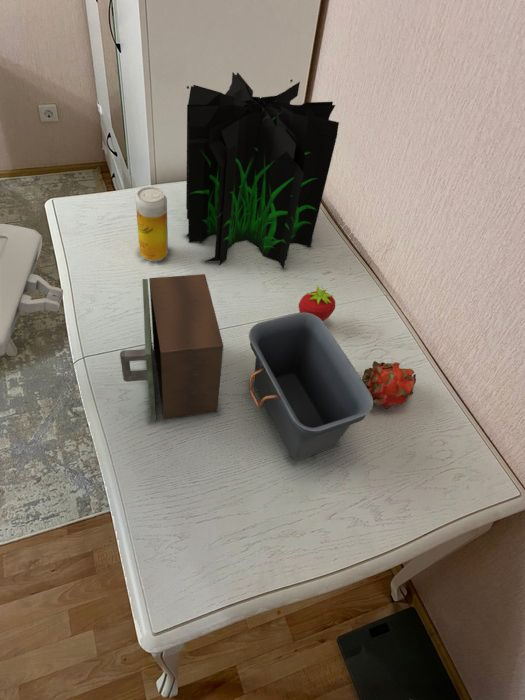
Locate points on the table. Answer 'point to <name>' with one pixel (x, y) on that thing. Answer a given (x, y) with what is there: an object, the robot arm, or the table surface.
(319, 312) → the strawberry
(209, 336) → the cupboard
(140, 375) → the cupboard door
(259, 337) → the storage bin
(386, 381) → the dragon fruit
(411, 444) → the table surface
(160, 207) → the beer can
